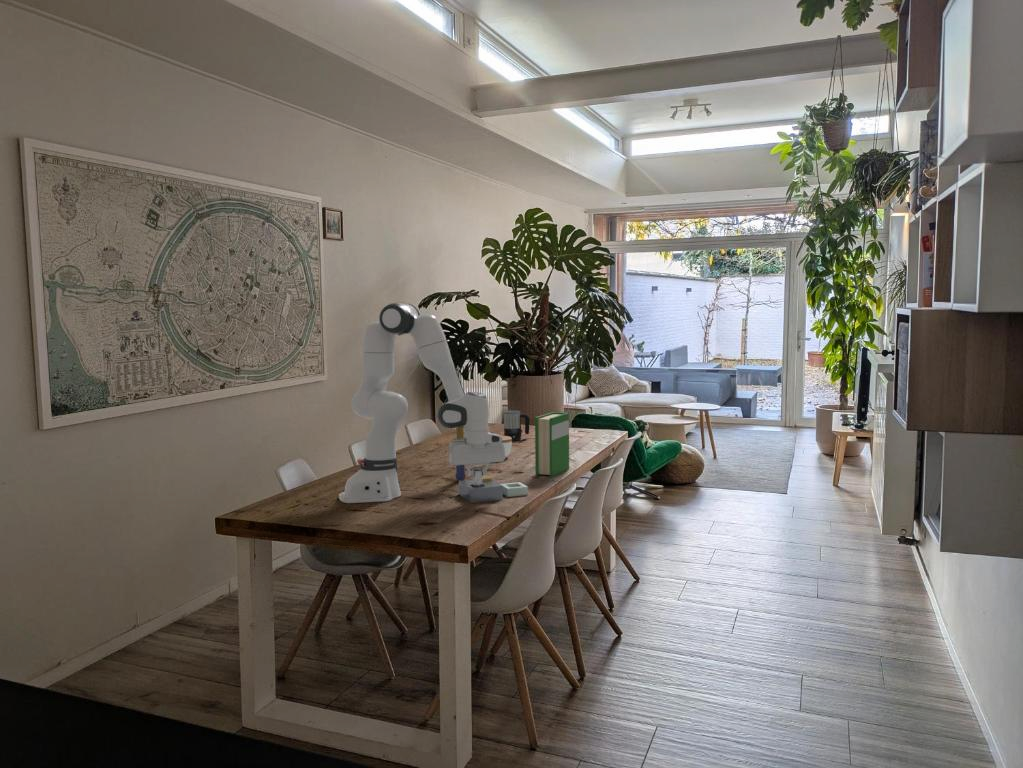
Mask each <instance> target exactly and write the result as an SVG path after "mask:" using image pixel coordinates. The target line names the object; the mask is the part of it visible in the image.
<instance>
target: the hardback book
mask: <svg viewBox="0 0 1023 768" xmlns="http://www.w3.org/2000/svg"><path fill="white" fill-rule="evenodd" d="M534 434H535V435H534V436H535V437H534V438H535V439H534V444H535V445H534V446H535V447H534V449H535V450H534V451H535V453H534V456H535V457H534V458H535V464H534V466H535V476H536V475H538V476H540V475H547V476H549V478H553V477H555V475H556V476H558V475H559V473H560V474H562V473H564V472H566V471H568V470H569V469H570V413H569V412H562V411H561V412H559V411H557V412H556V411H552V412H549V413H548V412H547V413H546V414H542V415H539V416H535V417H534ZM567 469H568V470H567ZM565 470H566V471H565ZM563 471H564V472H563ZM561 472H562V473H561ZM539 474H540V475H539ZM557 474H558V475H557Z"/></svg>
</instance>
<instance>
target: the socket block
mask: <svg viewBox="0 0 1023 768" xmlns="http://www.w3.org/2000/svg"><path fill="white" fill-rule="evenodd" d="M500 484H501V483H499V482H498V481H495V480H494V479H492V481H488V482H482V486H483V487H473V479H464V480H462V481H458V492H459V493H458V495H460V496H461V497H462V498H463V499H465V500H467V502H469V503H470V504H471V503H472V504H474V503H484V502H491V501H501V500H504V498H503V497H504V494H503V486H502V485H500Z"/></svg>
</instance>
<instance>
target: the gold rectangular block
mask: <svg viewBox="0 0 1023 768" xmlns="http://www.w3.org/2000/svg"><path fill="white" fill-rule="evenodd" d="M492 480H493V477H491V476H490V475H482V482H488V481H492Z"/></svg>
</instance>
